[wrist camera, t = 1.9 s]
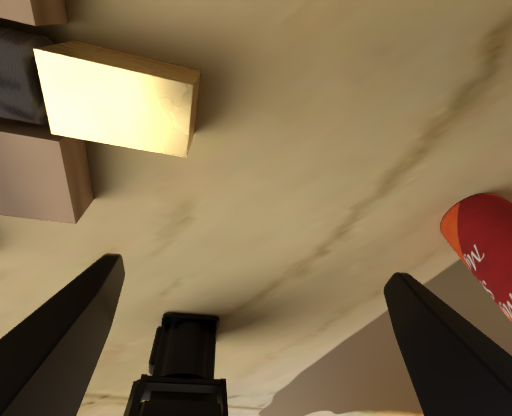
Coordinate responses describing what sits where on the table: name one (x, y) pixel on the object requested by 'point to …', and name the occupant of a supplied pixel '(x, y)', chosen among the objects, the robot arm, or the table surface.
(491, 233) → the paper cup
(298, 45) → the table surface
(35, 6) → the beam
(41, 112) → the dark grey rounded block
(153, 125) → the block
